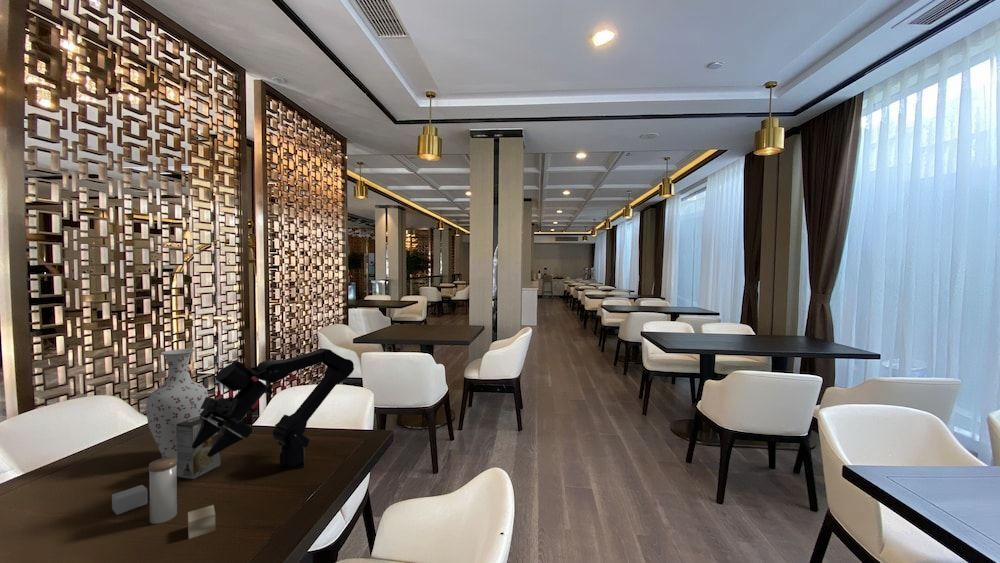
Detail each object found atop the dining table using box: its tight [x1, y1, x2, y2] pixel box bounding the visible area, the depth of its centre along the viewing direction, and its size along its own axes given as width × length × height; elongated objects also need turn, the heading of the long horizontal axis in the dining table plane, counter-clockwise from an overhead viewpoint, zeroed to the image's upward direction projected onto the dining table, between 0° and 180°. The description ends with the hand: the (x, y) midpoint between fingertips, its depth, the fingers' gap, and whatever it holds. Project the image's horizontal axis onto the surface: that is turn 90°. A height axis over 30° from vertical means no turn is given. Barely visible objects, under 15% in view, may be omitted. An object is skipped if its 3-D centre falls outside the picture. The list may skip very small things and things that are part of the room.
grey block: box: [111, 484, 149, 516], centre depth 105 cm, size 6×4×4 cm, turn 147°
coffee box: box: [176, 416, 222, 480], centre depth 124 cm, size 9×6×16 cm
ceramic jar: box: [148, 457, 178, 525], centre depth 100 cm, size 5×5×14 cm
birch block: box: [187, 504, 216, 540], centre depth 96 cm, size 5×5×4 cm
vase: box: [145, 348, 209, 458], centre depth 134 cm, size 16×16×35 cm
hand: (200, 452), depth 107 cm, fingers open, 9 cm apart
